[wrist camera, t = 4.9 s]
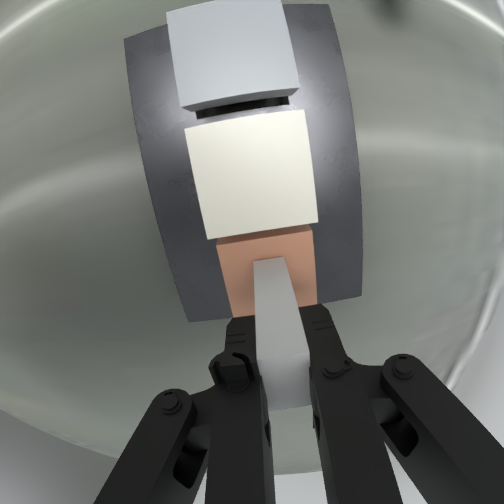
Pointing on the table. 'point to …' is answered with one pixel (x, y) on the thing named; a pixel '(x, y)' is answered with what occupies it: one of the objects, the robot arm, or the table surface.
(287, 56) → the grey key
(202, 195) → the cream key
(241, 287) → the tan cube
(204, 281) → the keypad base
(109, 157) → the table surface
